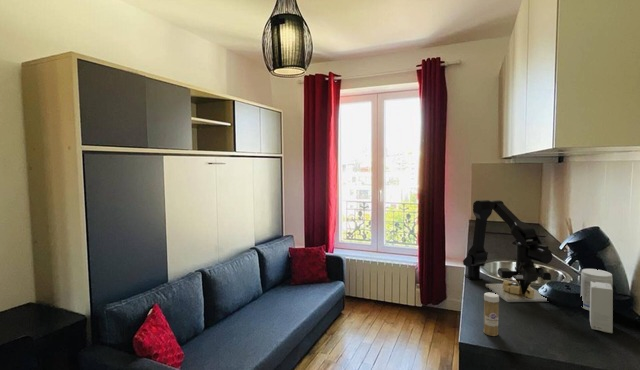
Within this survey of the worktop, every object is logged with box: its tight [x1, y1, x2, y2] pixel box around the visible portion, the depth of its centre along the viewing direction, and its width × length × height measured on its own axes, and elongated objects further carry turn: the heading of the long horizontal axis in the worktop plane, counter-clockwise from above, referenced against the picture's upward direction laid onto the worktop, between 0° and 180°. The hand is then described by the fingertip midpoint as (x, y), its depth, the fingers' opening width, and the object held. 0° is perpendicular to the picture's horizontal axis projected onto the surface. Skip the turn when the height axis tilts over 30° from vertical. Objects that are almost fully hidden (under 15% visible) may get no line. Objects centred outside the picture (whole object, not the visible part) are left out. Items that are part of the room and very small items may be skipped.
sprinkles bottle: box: [482, 292, 500, 337], centre depth 114 cm, size 5×5×14 cm
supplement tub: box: [580, 268, 614, 312], centre depth 132 cm, size 10×10×15 cm
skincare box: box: [589, 281, 614, 334], centre depth 118 cm, size 8×6×15 cm
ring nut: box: [502, 279, 534, 298], centre depth 147 cm, size 14×10×3 cm
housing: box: [485, 281, 548, 303], centre depth 149 cm, size 18×18×4 cm
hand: (523, 294), depth 141 cm, fingers closed
